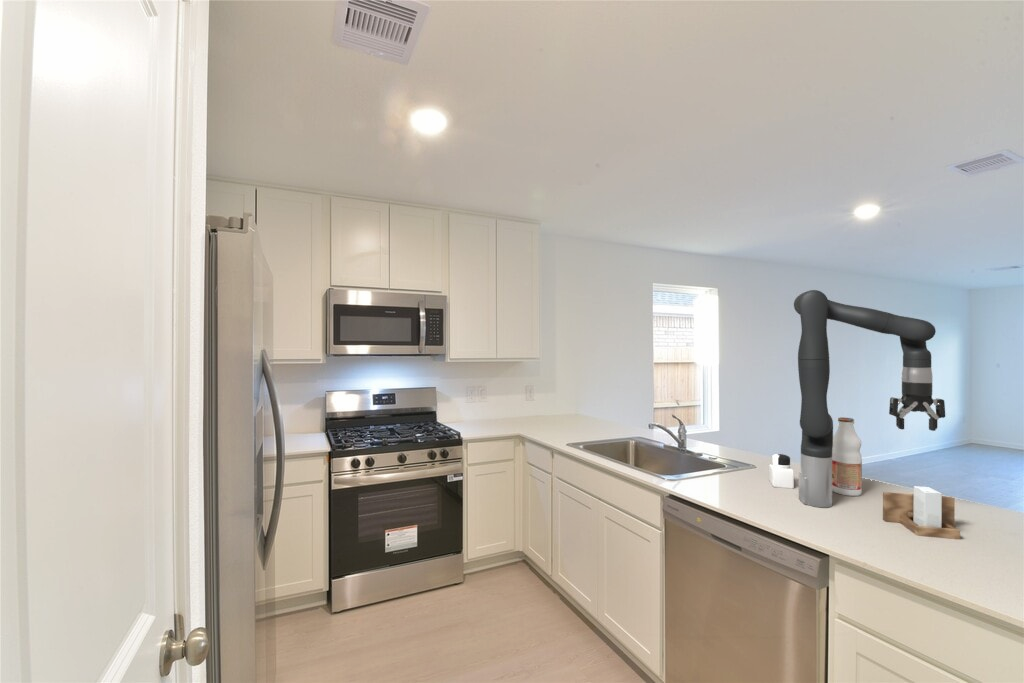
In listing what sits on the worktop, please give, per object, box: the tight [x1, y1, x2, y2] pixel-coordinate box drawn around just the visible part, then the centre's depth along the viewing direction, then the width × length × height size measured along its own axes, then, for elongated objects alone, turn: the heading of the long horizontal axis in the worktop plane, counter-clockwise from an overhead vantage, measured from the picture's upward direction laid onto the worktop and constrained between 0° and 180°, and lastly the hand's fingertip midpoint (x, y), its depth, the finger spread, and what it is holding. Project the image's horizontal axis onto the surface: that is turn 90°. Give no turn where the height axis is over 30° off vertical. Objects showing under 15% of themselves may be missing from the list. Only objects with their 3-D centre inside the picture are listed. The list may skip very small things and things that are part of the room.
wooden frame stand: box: [882, 491, 961, 540], centre depth 136 cm, size 18×11×9 cm, turn 75°
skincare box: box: [913, 485, 943, 528], centre depth 136 cm, size 6×4×12 cm
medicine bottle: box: [768, 453, 795, 490], centre depth 177 cm, size 7×7×12 cm
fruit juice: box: [832, 416, 863, 497], centre depth 169 cm, size 9×9×28 cm
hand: (916, 429), depth 148 cm, fingers open, 8 cm apart
